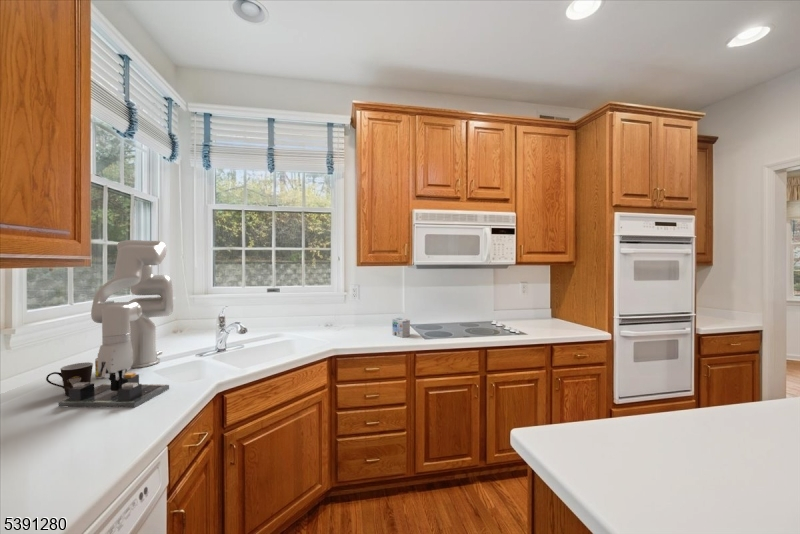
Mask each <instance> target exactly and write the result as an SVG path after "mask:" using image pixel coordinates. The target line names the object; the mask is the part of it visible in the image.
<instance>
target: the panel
mask: <svg viewBox="0 0 800 534" xmlns="http://www.w3.org/2000/svg"><path fill="white" fill-rule="evenodd" d="M167 389H168V390H170V384H161V383H160V384H157V383H156V384H154V383H151V384H148V383H147V384H142V383H139V384H138V383H125V384H122V388H120V389H118V391H111V383H105V384H104V383H103V384H100V385H97V386H95V383H91V382H78V383H76V384H73V388H70V389H69V396H68V398H65V399H64V400H61V401H59V402H57V403H58V407H59V406H68V407H67V408H136V407H139V406H140V405H142V404H144V403H145V401H146V402H148V401H149V400H151V399H153V398H154V396H155V397H157V396H159V395H161V394H162V393H164V392H166V391H168V390H167ZM165 390H166V391H165ZM163 391H164V392H163ZM161 392H162V393H161ZM158 394H159V395H158ZM156 395H157V396H156ZM152 397H153V398H152ZM150 398H151V399H150Z"/></svg>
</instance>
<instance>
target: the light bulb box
mask: <svg viewBox="0 0 800 534" xmlns="http://www.w3.org/2000/svg"><path fill="white" fill-rule="evenodd" d="M391 329H392V333H391V334H392V336H396V337H400V338H402V339H403V338H407V337H410V336H411V319H408V318H407V319H406V318H402V317H397V318H392V328H391Z"/></svg>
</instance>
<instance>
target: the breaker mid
mask: <svg viewBox="0 0 800 534" xmlns="http://www.w3.org/2000/svg"><path fill="white" fill-rule="evenodd" d="M125 383H138V384H140V374H136V372H135V373H134V372H133V373H132V372H128V373H127V372H126V373H125V377H124V378H123V384H125Z"/></svg>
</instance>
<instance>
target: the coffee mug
mask: <svg viewBox="0 0 800 534" xmlns="http://www.w3.org/2000/svg"><path fill="white" fill-rule="evenodd" d="M93 366H94V363H93V362H88V361H87V362H76V363H72V364H68V365H64V366H62V367H60V372H57V371H54V372H51V373H49V374H47V375H46V378H45V381H46V382H47V383H48V384H50V385H51V386H52V385H53V386H55V387H60V388H62V389H64V394H65V396H66V395H68V396H67V397H69V389H70V388H73V384H76V383H78V382H90V383H92V381H91V380H92V372H93ZM51 375H58V376H59V377H61V379H62V384H58V383H55V382H53V381H50V379H49V377H50V376H51Z"/></svg>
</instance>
